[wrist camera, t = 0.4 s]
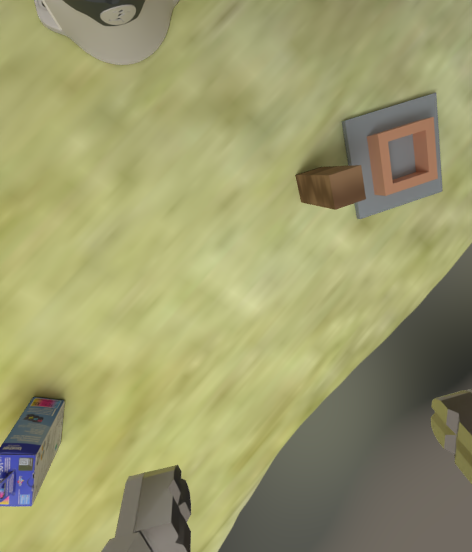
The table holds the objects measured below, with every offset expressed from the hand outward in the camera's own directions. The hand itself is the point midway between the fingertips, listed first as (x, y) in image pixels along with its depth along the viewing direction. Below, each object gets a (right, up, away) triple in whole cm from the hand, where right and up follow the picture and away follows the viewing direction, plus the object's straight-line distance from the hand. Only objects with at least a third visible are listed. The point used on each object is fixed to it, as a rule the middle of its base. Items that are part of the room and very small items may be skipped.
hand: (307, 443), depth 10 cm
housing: (+24, +25, +45) cm, 57 cm away
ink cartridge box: (-36, -20, +47) cm, 63 cm away
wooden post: (+10, +20, +43) cm, 49 cm away
